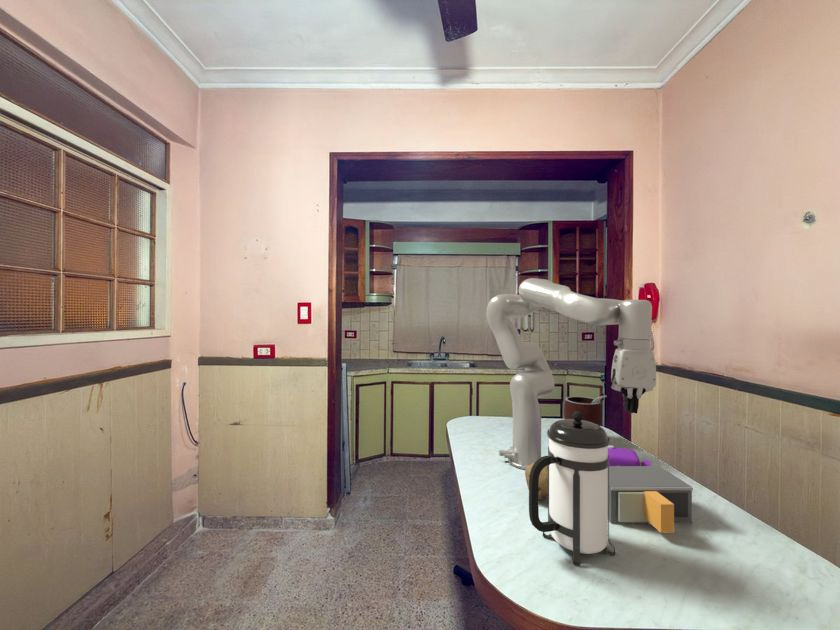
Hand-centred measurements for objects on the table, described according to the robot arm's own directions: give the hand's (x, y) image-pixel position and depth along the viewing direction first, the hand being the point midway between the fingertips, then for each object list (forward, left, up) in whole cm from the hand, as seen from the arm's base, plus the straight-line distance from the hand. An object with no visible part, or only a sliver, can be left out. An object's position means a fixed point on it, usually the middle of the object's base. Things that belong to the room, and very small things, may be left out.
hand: (631, 411), depth 98 cm
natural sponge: (-24, +2, -25) cm, 35 cm away
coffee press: (-24, -19, -25) cm, 39 cm away
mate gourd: (+8, +45, -25) cm, 52 cm away
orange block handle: (-5, -14, -24) cm, 28 cm away
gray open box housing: (-2, -4, -25) cm, 25 cm away
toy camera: (+5, +11, -25) cm, 28 cm away
